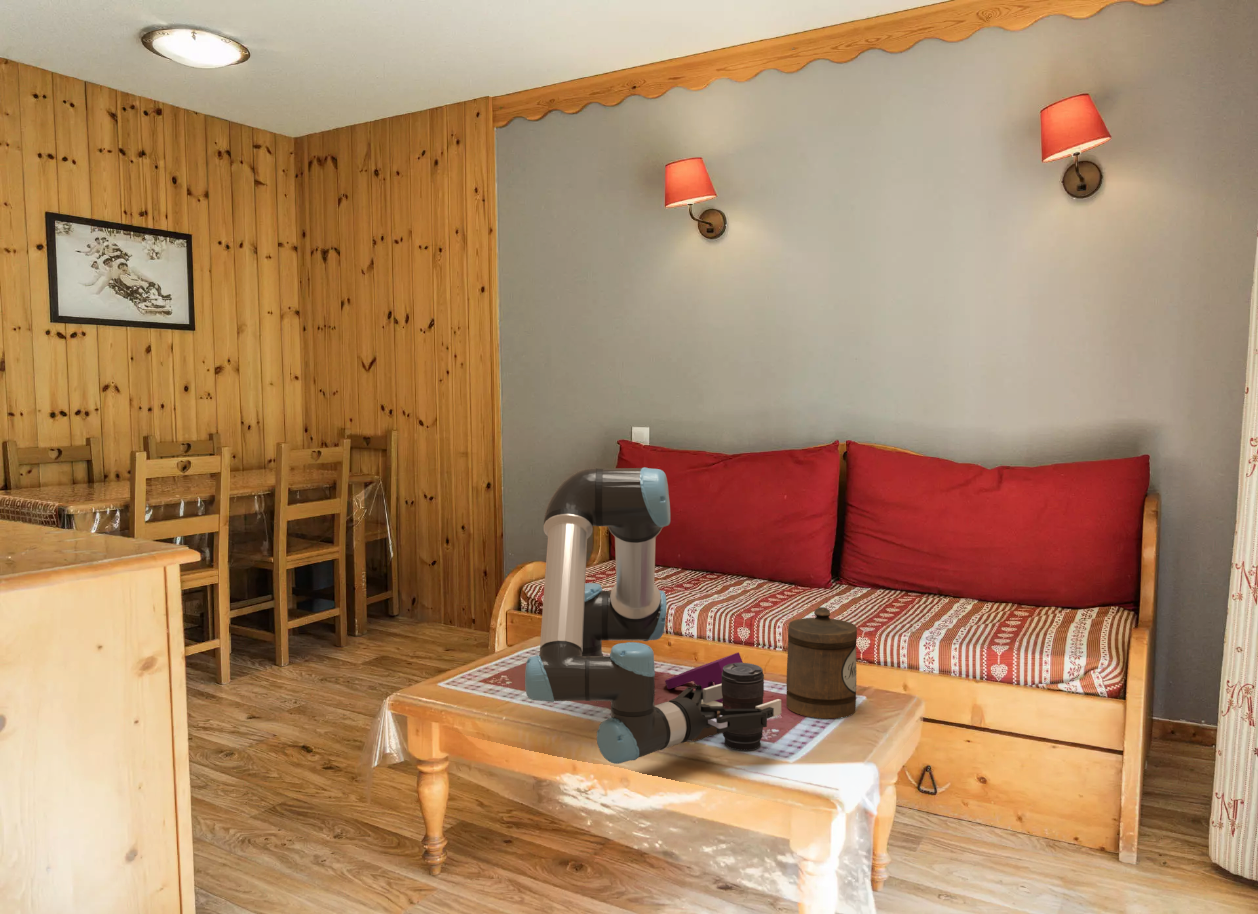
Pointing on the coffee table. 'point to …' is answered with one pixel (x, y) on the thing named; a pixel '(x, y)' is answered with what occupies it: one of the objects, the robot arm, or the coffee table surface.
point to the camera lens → (742, 701)
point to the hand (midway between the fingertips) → (752, 697)
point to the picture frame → (712, 730)
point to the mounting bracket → (704, 674)
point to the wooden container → (821, 666)
